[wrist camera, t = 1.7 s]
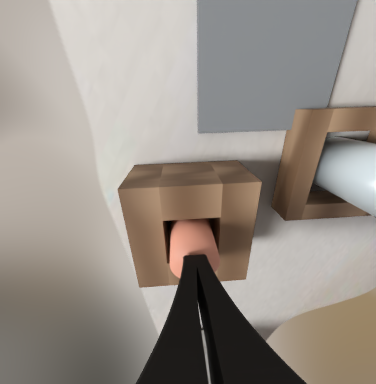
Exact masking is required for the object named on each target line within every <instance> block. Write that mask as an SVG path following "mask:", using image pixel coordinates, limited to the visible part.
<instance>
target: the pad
mask: <svg viewBox="0 0 376 384" xmlns="http://www.w3.org/2000/svg"><path fill="white" fill-rule="evenodd" d="M356 3H357V0H197V81H198V133H223V132H249V131H274V130H291V129H292V124H293V119H294V114H295V110H296V109H319V108H327V106H328V103H329V99H330V95H331V92H332V88H333V85H334V81H335V78H336V74H337V71H338V67H339V63H340V60H341V56H342V53H343V49H344V46H345V42H346V39H347V35H348V31H349V28H350V24H351V21H352V17H353V14H354V10H355V7H356Z"/></svg>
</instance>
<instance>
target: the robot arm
mask: <svg viewBox="0 0 376 384" xmlns="http://www.w3.org/2000/svg"><path fill="white" fill-rule="evenodd" d="M198 304H199V309H200V314H201V320H202V325H203V330H204V335H205V341H206V347H207V355H208V364H209V372H210V381H211V384H306V382H304V380H302V379H301V378H300V377H299V376H298V375H297V374H296V373H295V372H294V371H293V370H292V369H291V368H290V367H289V366H288V365H287V364H286V363H285V362H284V361H283V360H282V359H281V358H280V357H279V356H278V355H277V354H276V352H274V350H273V349H272V348H271V347H270V346H269V345H268V344H267V343H266V341H265V340H264V339H263V338H262V337H261V336H260V335H259V334H258V333H257V331H256V330H255V329H254V328H253V327H252V326H251V324H250V323H249V322H248V321H247V319H246V318H245V317H244V316H243V314H242V313H241V312H240V310H239V309H238V308H237V306H236V305H235V304H234V302H233V301H232V299H231V298H230V297H229V295H228V294H227V292H226V291H225V289H224V288H223V286H222V284H221V283H220V281H219V279H218V278H217V276H216V274H215V272H214V270H213V269H212V267H211V265H210V263H209V260H208V258H207V255H205V254H199V255H185V256H184V257H183V266H182V272H181V276H180V280H179V284H178V288H177V291H176V294H175V298H174V301H173V304H172V307H171V309H170V312H169V315H168V317H167V320H166V322H165V325H164V327H163V329H162V332H161V334H160V336H159V338H158V341H157V343H156V345H155V347H154V349H153V351H152V353H151V355H150V357H149V359H148V361H147V363H146V365H145V367H144V369H143V371H142V373H141V375H140V377H139V379H138V380H137V382H136V384H209V381H208V374H207V367H206V360H205V353H204V346H203V339H202V332H201V325H200V317H199V309H198Z"/></svg>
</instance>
